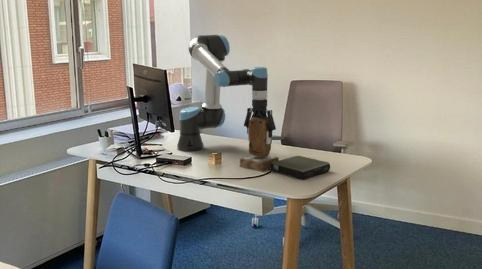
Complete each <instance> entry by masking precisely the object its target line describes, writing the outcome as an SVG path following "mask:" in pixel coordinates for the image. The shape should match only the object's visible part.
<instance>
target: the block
mask: <svg viewBox="0 0 482 269" xmlns="http://www.w3.org/2000/svg"><path fill="white" fill-rule="evenodd" d="M251 118H252V117H251ZM251 118H250V119H251ZM266 122H269V120H268V116H267V118H266V119H262V118H259V117H256V116H255V117H253V118H252V119H251V120H250V123H249V141H248V152H249V155H250V156H251V155H253V156H257V157H267V156H270V152H271V148H272V142H271V143H270V144H267V131H268V129H267V127H266Z"/></svg>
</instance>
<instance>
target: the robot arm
mask: <svg viewBox="0 0 482 269" xmlns="http://www.w3.org/2000/svg"><path fill="white" fill-rule="evenodd" d="M230 50H231V49H230V42H229V41H228V39H227V37H226V36H225V35H222V34H221V35H220V34H211V35H210V34H207V35H206V34H205V35H203V34H199V35H196V36H195V37H193V38H192V39H191V40H190V42H189V44H188V52H189V53H188V54H189V55H190V56H191V58H192V59H193V60H195V61H198V62H199V63H200V64H201V65H202V66H204V68H205V69H206V70H205V88H204V102H203V103H202V104H201V108H200V107H198V106H190V107H186V108H182V109H181V110H180V111H179V117H178V118H179V138H178V142H177V144H176V147H177V150H178V149H179V150H178V151H181V150H183V151H184V152H195V151H196V150H197V151H200V150H203V149H204V147H205V146H204V142H203V140H202V136H201V130H207V129H216V128H219V127H222V126H223V124H224V123H225V121H226V111H225V109H224V108H223V106H222V104H221V103H220V100H221V99H220V98H221V87H222V88H225V87H226V88H227V87H235V86H237V87H238V86H251V95H252V96H251V98H252V99H251V106H252V107H249V108H247V109H246V110H247V111H246V114H245V119H244V123H243V127H246V134H247V141H248V142H249V123H250V120H251V119H252V118H253V117H255V116H256V117H259V118H262V119H266V118H267V117H268V120H269V122H266V127H267V129H268V131H267V144H270V143H271V144H272V137H273V131H275V130H276V129H277V127H276V123H275V121H274V120H275V119H274V117H273V110H272V109H271V110H269V109H268V108H267V107H268V76H269V75H268V68H267V67H265V66H255V67H252V69H248V68H243V69H240V70H239V69H238V70H230V69H229V68H227V66H225V65H224V64H223V62H224V61H225V59H226V57H227V56H228V55H229V54H230ZM197 151H196V152H197Z"/></svg>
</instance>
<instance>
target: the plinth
mask: <svg viewBox="0 0 482 269" xmlns="http://www.w3.org/2000/svg"><path fill="white" fill-rule="evenodd" d="M275 161H279V157H276V156H272V155H268V156H267V157H257V156H253V155H251V154H250V155H249V156H248V155H247V156H245V157H242V158H239V167H240V168H246V169H249V170H255V171H258V172H264V171H267V170H271V168H270V167H271V163H272V162H275Z"/></svg>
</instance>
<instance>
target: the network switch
mask: <svg viewBox="0 0 482 269" xmlns="http://www.w3.org/2000/svg"><path fill="white" fill-rule="evenodd" d="M330 170H331V164H330V162H329V161H328V162H327V161H324V160H320V159H319V160H318V159H315V158H311V157H307V156H302V155H294V156H290V157H287V158H284V159H280V160H279V161H275V162H272V163H271V167H270V171H271V172H273V173H277V174H281V175H284V176H285V175H286V176H289V177H291V178H294V179H297V180H300V181H303V180H305V179H308V178H312V177H315V176H318V175H323V174H327V173H329V171H330Z"/></svg>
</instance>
